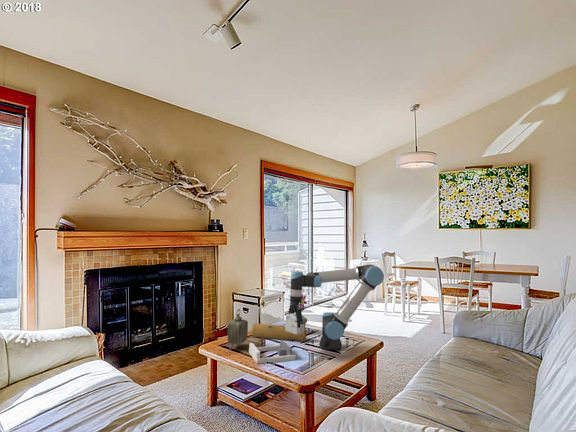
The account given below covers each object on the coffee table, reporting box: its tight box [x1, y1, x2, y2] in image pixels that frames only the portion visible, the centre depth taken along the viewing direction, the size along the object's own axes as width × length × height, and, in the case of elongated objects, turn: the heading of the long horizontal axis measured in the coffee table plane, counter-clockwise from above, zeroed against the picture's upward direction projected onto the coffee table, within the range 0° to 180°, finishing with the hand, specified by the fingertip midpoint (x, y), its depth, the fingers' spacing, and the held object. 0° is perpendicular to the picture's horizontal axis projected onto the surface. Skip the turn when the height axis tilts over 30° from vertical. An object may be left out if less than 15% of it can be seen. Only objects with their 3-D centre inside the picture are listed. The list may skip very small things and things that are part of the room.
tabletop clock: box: [227, 309, 249, 351], centre depth 233 cm, size 14×9×25 cm, turn 168°
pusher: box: [276, 339, 293, 356], centre depth 222 cm, size 6×17×6 cm, turn 20°
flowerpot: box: [299, 293, 308, 328], centre depth 271 cm, size 14×14×30 cm
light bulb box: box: [285, 312, 305, 334], centre depth 225 cm, size 11×7×11 cm, turn 46°
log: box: [251, 323, 307, 342], centre depth 255 cm, size 38×10×10 cm, turn 78°
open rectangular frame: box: [248, 342, 297, 364], centre depth 219 cm, size 24×20×6 cm
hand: (294, 329), depth 225 cm, fingers closed on light bulb box, 12 cm apart
